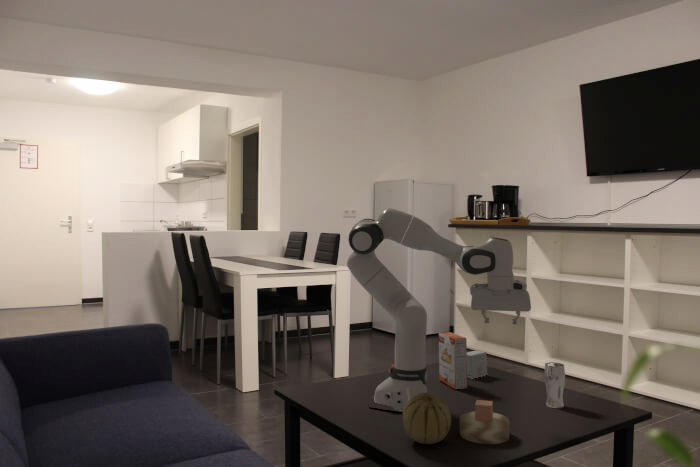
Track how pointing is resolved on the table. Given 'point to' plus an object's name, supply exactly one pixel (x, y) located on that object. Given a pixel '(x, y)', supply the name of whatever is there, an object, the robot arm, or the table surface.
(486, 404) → the terracotta cube
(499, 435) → the birch pedestal
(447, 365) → the cracker box
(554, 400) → the beer glass
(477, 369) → the skincare box
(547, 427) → the table surface
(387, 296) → the robot arm
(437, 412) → the cantaloupe
